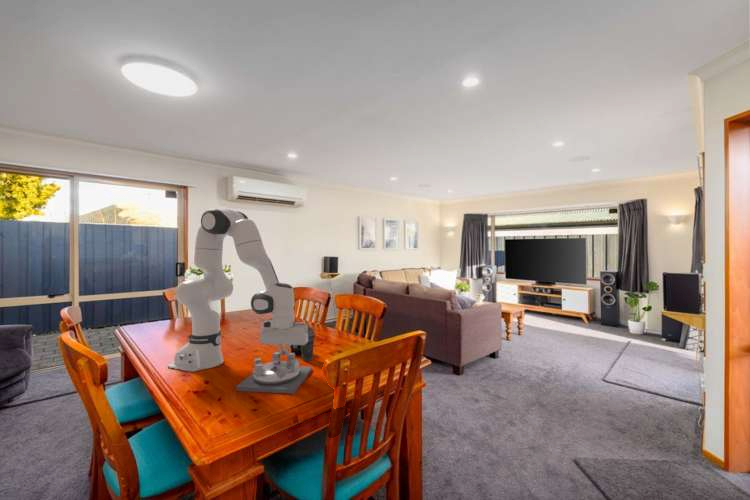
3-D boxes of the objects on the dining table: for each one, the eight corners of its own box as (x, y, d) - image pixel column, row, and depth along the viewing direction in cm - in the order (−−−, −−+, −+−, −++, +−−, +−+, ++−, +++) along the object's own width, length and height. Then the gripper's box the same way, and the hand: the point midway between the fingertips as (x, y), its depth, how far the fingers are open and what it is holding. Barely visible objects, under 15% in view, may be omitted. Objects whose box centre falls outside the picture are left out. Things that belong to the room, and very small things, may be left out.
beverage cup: (311, 363, 146) (311, 319, 145) (296, 361, 147) (296, 318, 147) (317, 357, 153) (317, 316, 152) (303, 356, 154) (303, 315, 154)
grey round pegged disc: (243, 384, 120) (243, 366, 119) (264, 366, 137) (264, 351, 137) (291, 386, 118) (290, 369, 117) (306, 367, 135) (306, 352, 135)
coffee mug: (310, 352, 160) (310, 332, 160) (297, 357, 153) (297, 336, 153) (293, 348, 167) (293, 329, 166) (281, 353, 159) (280, 333, 159)
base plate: (236, 390, 118) (236, 386, 118) (263, 368, 140) (263, 364, 140) (293, 393, 115) (293, 389, 115) (311, 370, 137) (311, 366, 137)
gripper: (310, 320, 136) (310, 352, 136) (264, 319, 138) (264, 351, 138) (305, 324, 130) (305, 357, 130) (257, 323, 132) (258, 356, 132)
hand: (284, 354), depth 134 cm, fingers closed
